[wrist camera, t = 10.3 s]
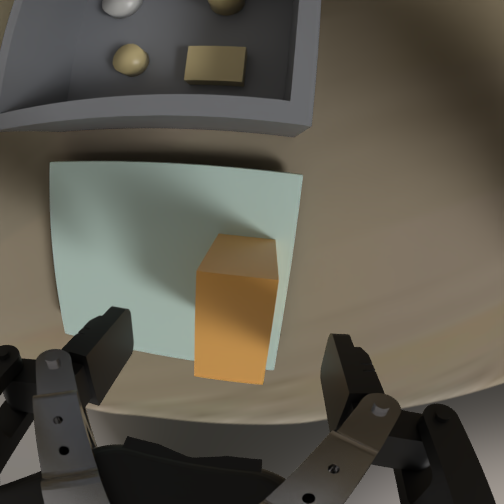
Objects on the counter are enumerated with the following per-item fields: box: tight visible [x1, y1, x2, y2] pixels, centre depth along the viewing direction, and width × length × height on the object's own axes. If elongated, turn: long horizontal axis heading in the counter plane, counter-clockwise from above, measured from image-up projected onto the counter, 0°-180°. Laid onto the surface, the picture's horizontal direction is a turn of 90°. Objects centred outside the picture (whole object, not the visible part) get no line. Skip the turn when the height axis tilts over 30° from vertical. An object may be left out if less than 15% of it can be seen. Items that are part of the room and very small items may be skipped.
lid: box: [50, 161, 303, 385], centre depth 16 cm, size 15×12×8 cm
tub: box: [0, 0, 321, 137], centre depth 12 cm, size 15×12×7 cm
